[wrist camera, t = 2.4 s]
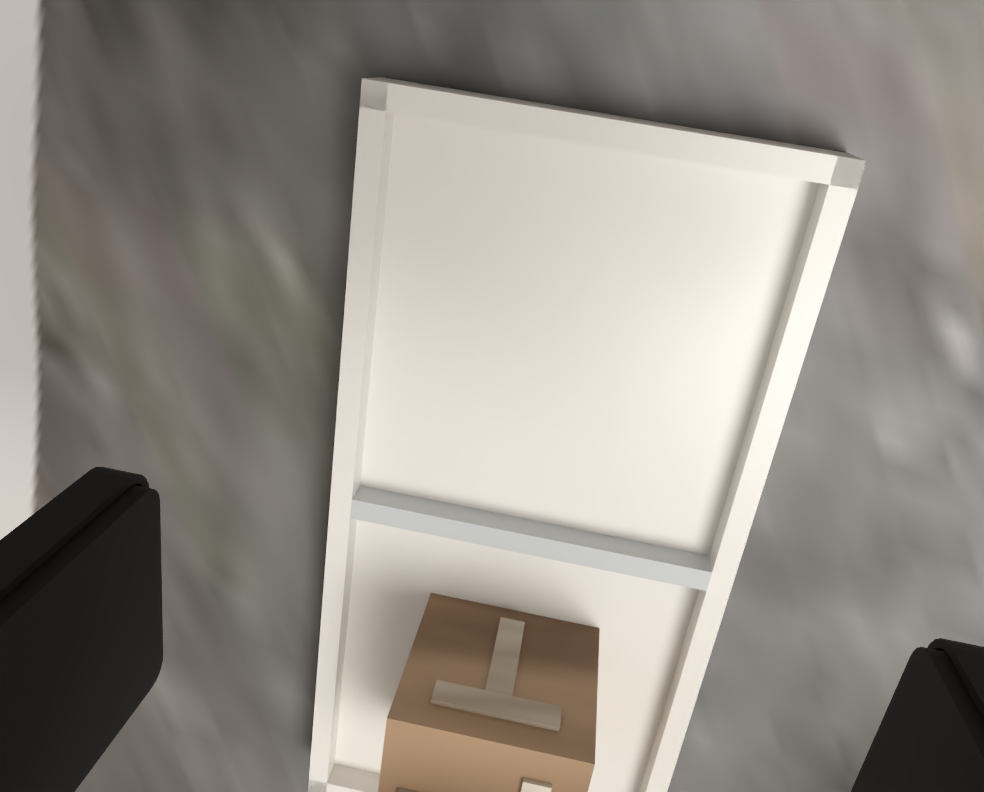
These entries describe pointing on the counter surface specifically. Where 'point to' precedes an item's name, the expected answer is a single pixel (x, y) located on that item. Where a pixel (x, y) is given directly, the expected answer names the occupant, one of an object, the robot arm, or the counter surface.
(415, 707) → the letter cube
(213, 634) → the counter surface
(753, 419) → the tray
